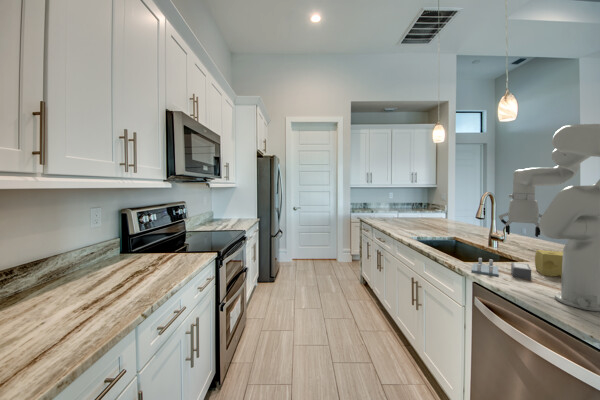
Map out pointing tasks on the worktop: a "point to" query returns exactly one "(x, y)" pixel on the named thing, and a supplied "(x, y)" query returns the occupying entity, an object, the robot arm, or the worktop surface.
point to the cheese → (549, 262)
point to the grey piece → (485, 268)
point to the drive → (521, 270)
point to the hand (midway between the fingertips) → (522, 235)
